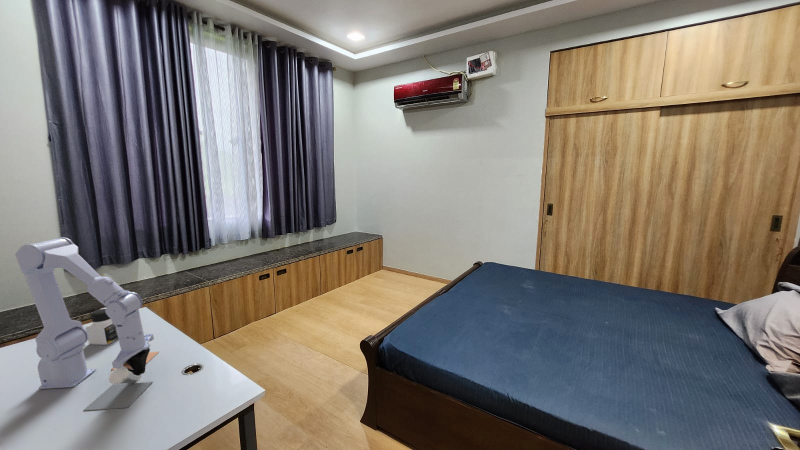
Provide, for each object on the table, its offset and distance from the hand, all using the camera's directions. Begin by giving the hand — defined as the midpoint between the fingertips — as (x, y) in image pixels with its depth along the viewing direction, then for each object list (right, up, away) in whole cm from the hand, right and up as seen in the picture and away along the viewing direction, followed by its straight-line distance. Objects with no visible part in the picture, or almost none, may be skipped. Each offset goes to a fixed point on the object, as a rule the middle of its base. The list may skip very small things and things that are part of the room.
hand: (140, 373), depth 95 cm
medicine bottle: (-31, +2, +22) cm, 38 cm away
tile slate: (0, -3, -6) cm, 7 cm away
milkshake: (-1, -1, 0) cm, 1 cm away
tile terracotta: (-9, 0, +9) cm, 13 cm away
